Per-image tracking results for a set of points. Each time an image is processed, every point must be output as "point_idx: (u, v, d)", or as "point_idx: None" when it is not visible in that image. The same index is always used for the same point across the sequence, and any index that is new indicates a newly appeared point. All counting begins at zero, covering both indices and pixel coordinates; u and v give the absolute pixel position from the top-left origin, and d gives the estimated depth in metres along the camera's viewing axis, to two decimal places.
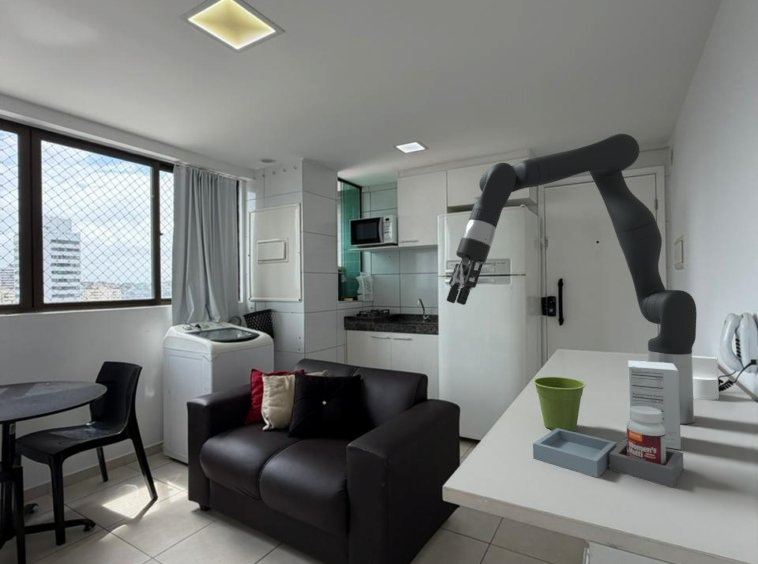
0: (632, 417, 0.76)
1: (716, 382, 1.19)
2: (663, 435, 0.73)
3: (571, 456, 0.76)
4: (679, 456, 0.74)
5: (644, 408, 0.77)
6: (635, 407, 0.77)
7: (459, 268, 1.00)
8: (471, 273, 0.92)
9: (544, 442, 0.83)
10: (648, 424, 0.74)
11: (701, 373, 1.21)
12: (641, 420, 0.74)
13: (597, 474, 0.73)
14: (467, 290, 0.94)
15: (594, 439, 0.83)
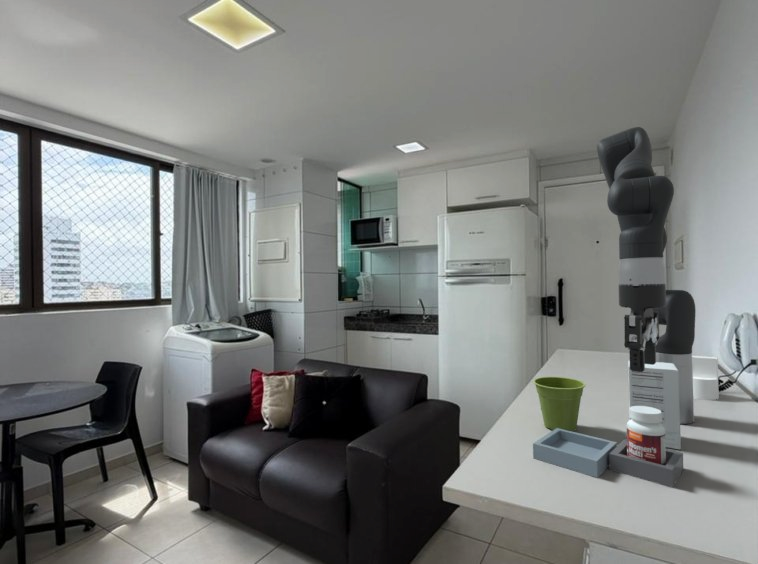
0: (632, 417, 0.76)
1: (716, 382, 1.19)
2: (663, 435, 0.73)
3: (571, 456, 0.76)
4: (679, 456, 0.74)
5: (644, 408, 0.77)
6: (635, 407, 0.77)
7: None
8: None
9: (544, 442, 0.83)
10: (648, 424, 0.74)
11: (701, 373, 1.21)
12: (641, 420, 0.74)
13: (597, 474, 0.73)
14: None
15: (594, 439, 0.83)
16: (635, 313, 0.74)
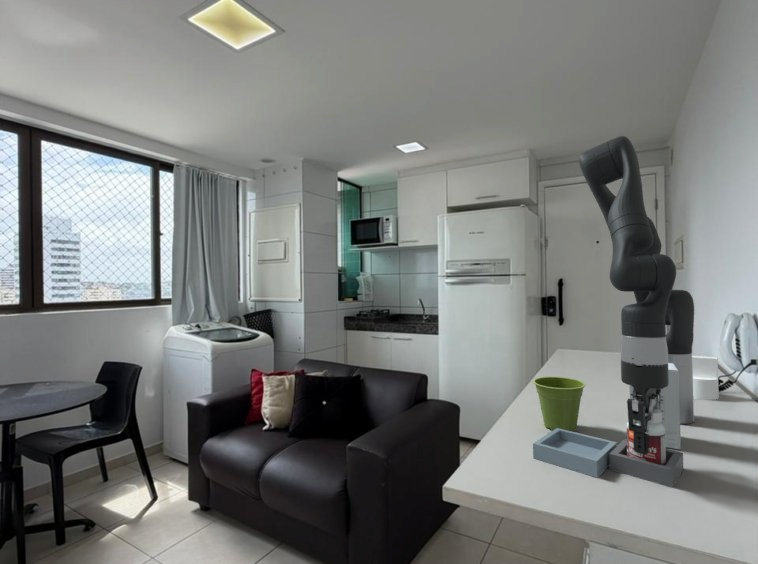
0: None
1: (716, 382, 1.19)
2: (663, 435, 0.73)
3: (571, 456, 0.76)
4: (679, 456, 0.74)
5: None
6: None
7: None
8: None
9: (544, 442, 0.83)
10: None
11: (701, 373, 1.21)
12: None
13: (597, 474, 0.73)
14: None
15: (594, 439, 0.83)
16: (637, 393, 0.73)
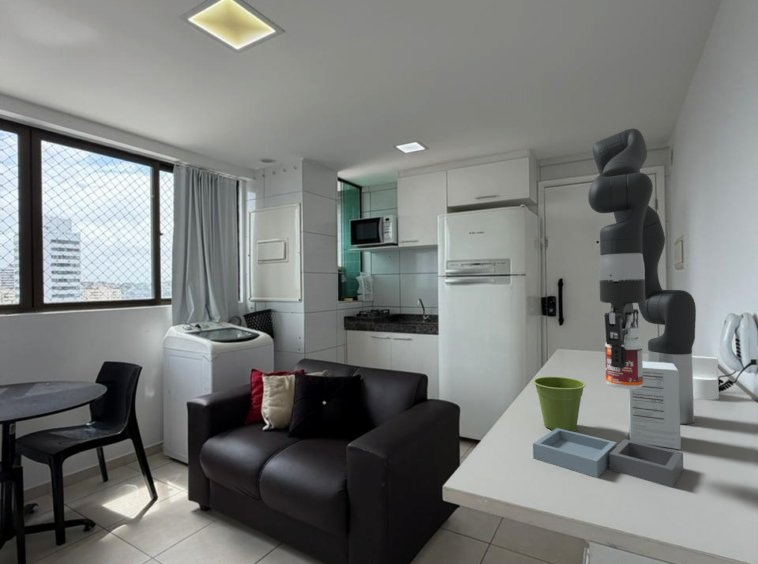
0: None
1: (716, 382, 1.19)
2: (640, 349, 0.75)
3: (571, 456, 0.76)
4: (679, 456, 0.74)
5: None
6: None
7: None
8: None
9: (544, 442, 0.83)
10: None
11: (701, 373, 1.21)
12: None
13: (597, 474, 0.73)
14: None
15: (594, 439, 0.83)
16: (615, 309, 0.75)
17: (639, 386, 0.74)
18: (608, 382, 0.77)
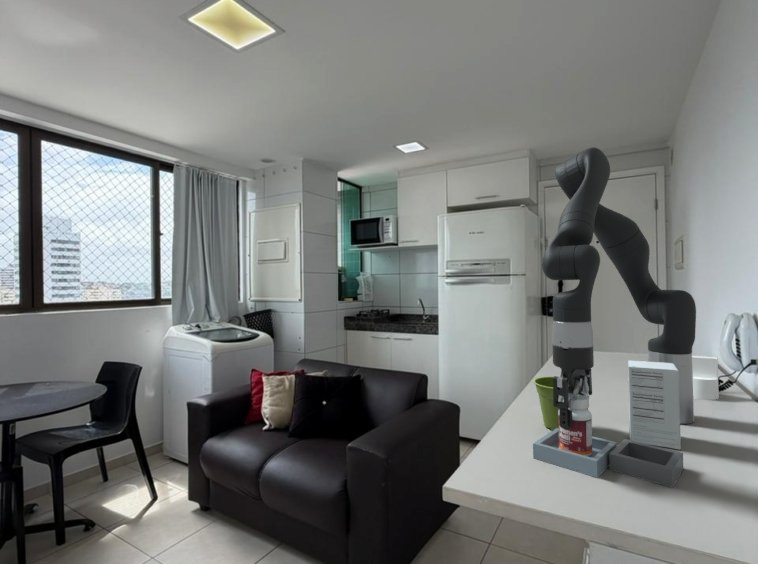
0: None
1: (716, 382, 1.19)
2: (589, 420, 0.79)
3: (571, 456, 0.76)
4: (679, 456, 0.74)
5: None
6: None
7: None
8: None
9: (544, 442, 0.83)
10: (575, 410, 0.79)
11: (701, 373, 1.21)
12: None
13: (597, 474, 0.73)
14: None
15: (594, 439, 0.83)
16: (564, 374, 0.79)
17: (588, 455, 0.79)
18: None
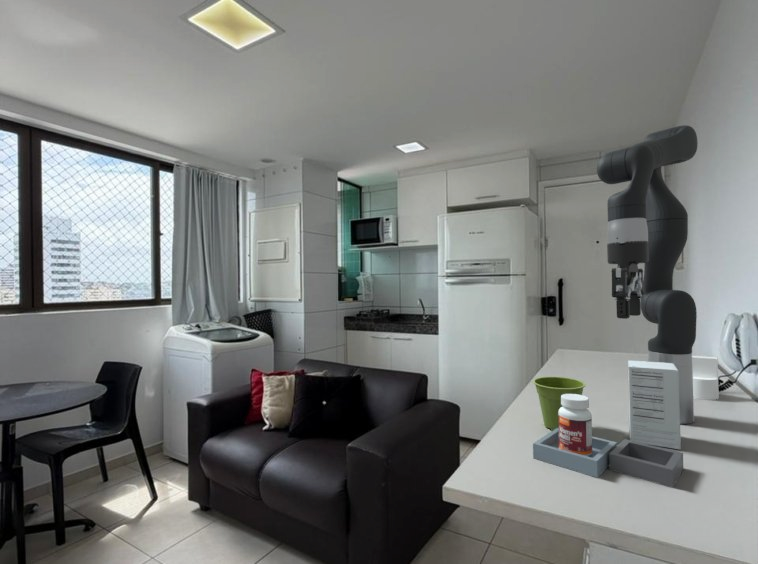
0: (562, 404, 0.81)
1: (716, 382, 1.19)
2: (589, 420, 0.79)
3: (571, 456, 0.76)
4: (679, 456, 0.74)
5: (574, 396, 0.82)
6: (566, 395, 0.83)
7: None
8: None
9: (544, 442, 0.83)
10: (575, 410, 0.79)
11: (701, 373, 1.21)
12: (569, 406, 0.80)
13: (597, 474, 0.73)
14: None
15: (594, 439, 0.83)
16: (621, 267, 0.83)
17: (588, 455, 0.79)
18: None
